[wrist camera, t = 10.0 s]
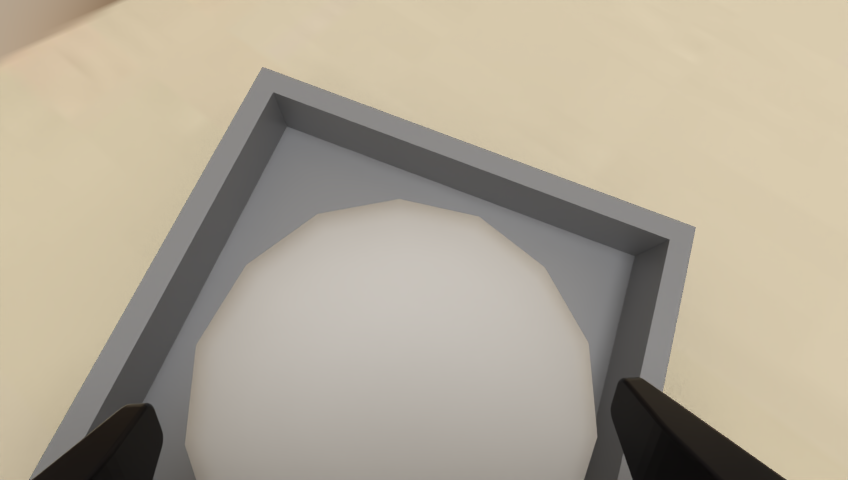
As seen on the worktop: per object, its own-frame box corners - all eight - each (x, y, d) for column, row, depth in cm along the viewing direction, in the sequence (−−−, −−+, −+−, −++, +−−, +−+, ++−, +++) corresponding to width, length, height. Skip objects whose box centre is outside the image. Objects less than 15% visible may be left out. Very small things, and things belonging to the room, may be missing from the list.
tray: (540, 724, 15) (578, 809, 12) (58, 528, 15) (-19, 564, 12) (649, 249, 19) (695, 227, 16) (280, 111, 20) (262, 66, 17)
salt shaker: (312, 296, 17) (118, 90, 5) (466, 297, 18) (658, 109, 5) (302, 470, 16) (-33, 853, 3) (472, 466, 16) (775, 786, 4)
